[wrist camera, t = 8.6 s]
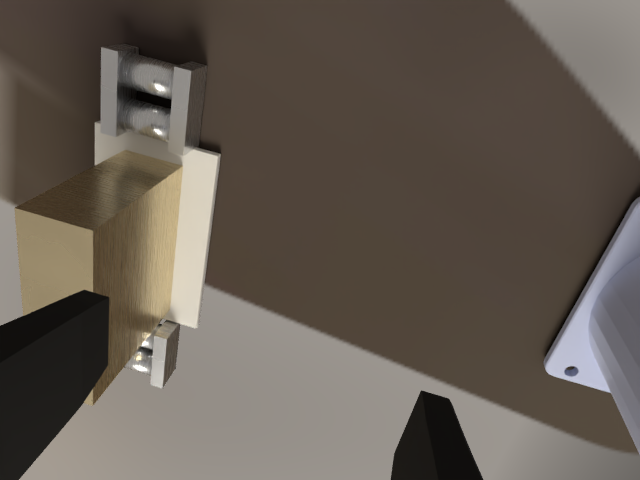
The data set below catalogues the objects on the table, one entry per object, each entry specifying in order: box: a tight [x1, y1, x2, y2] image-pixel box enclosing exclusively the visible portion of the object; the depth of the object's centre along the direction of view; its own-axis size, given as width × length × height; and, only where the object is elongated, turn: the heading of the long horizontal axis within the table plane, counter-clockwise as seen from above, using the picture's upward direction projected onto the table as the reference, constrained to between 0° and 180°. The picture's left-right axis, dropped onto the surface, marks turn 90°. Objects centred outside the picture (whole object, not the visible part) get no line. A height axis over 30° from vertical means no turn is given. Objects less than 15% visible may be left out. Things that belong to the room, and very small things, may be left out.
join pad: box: [95, 121, 221, 328], centre depth 21 cm, size 5×8×1 cm, turn 168°
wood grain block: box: [15, 150, 183, 406], centre depth 18 cm, size 2×7×6 cm, turn 168°
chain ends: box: [100, 43, 207, 388], centre depth 21 cm, size 3×15×1 cm, turn 168°
